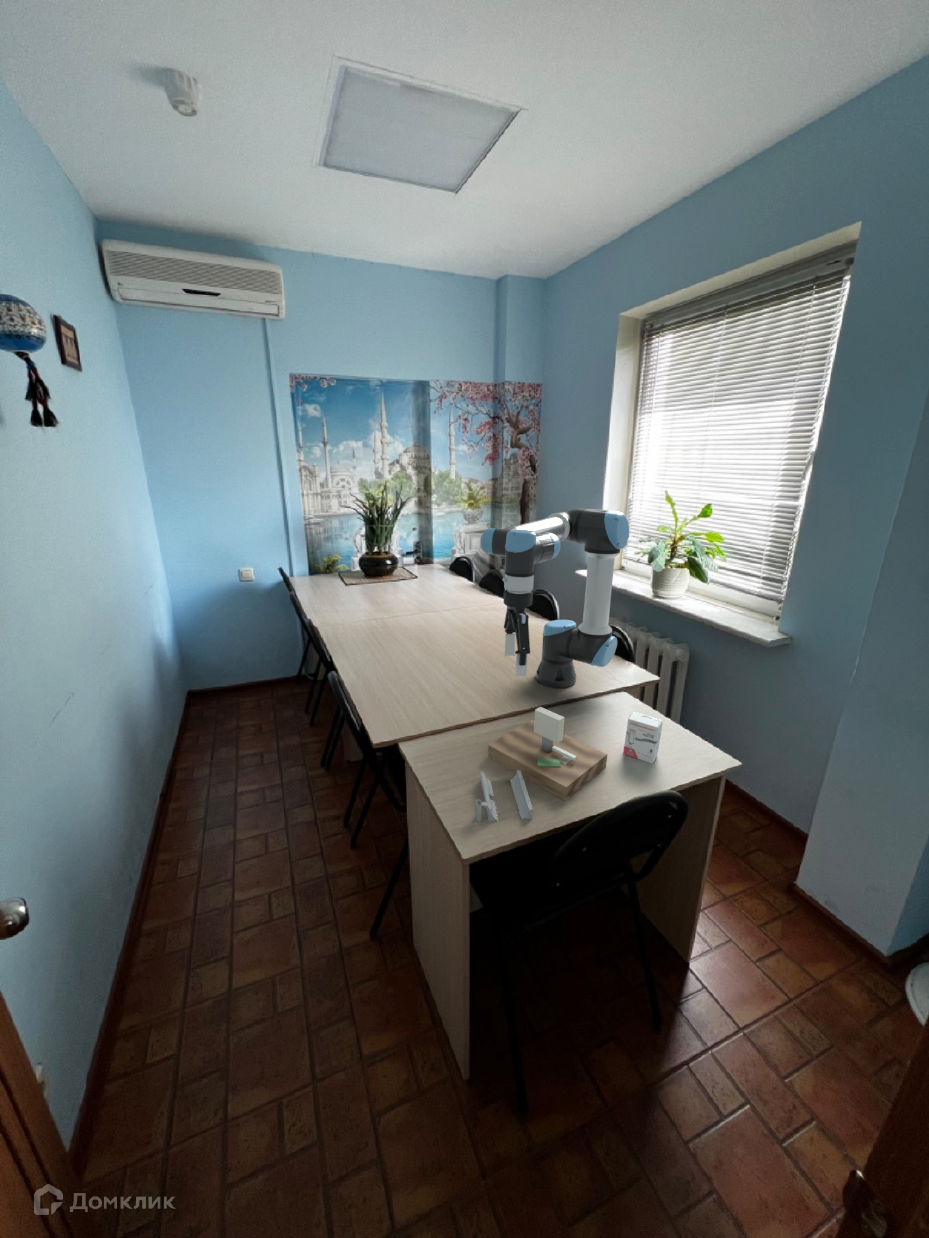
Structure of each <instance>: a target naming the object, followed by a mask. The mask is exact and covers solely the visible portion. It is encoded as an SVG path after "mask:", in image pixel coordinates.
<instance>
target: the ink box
mask: <svg viewBox="0 0 929 1238" xmlns="http://www.w3.org/2000/svg"><path fill="white" fill-rule="evenodd" d="M663 722H664V721H663V720H662V719H660V718H657V717H653V716H650V715H647V714H644V713H641V712H637V711H633V712H631V714H630V715H629V717H628V719H627V725H626V732H625V741H624V746H623V755H626V756H629V757H632V758H635V759H638V760H641V761H643V762H647V763H649V764H654V762H655V761H656V759H657V757H658V753H659V750H660V749H659V748H660V741H661V735H662V729H663Z"/></svg>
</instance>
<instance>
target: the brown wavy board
mask: <svg viewBox="0 0 929 1238" xmlns="http://www.w3.org/2000/svg"><path fill="white" fill-rule="evenodd" d="M541 746H542V736H541V735H539V734H537V733H535V732H534V719H530V720H528V721H526V722H525V723H523V724H521V725H520V726H518V727H516V728H514V729H513V730H511V731H509V732H508V733H506V734H504V735H503V736H501V737H499V738H497V739H496V740H494V741H493V742H491V743H489V744H488V748H487V749H488V750H487V757H488V758H489V759H491V760H493V761H494V762H497V763H498V764H499V765H501V766H504V767H505V768H507V769H508V770H510V771H512V772H514V773H515V774H516V773H517V770H521V773H522V776H523V779H527V780H528V781H530V783H531V782H532V783H533V784H535V785H537V786H539V787H540V788H542V789H544V790H546V791H547V792H549V793H551V794H552V795H554V796H556V797H557V798H559V799H561V798H562V799H561V800H563V799H564V800H563V801H566V800H568V799H569V798H570V797H572V796H573V795H574V794H575V793H577V791H578V790H580V789H581V788H582V787H584V785H586V784H587V783H589V781H591V780H592V779H593V778H594V777H595V776H596V775H598V774H599V773H600V772H602V771H603V770H604V769H605V768H606V767H607V762H608V761H607V760H608V753H607V752H604V751H601V750H600V749H597V748H595V747H594V746H591V745H589V744H586V743H585V742H582V741H580V740H578V739H576V738H573V737H571V736H570V735H567V734H564V733H563V740H562V741H561V742H559V743H556V742H553V746H557V747H559V748H561V749H563V750H565V751H567V752H569V753H571V754H573V755H575V756H577V757H576V759H575V760H572V759H570V758H567V757H565V756H563V755H561V754H559V753H557V752H555V751H553V750H552V751H550V752H546V751H543V750H542V749H541ZM573 793H574V794H573ZM568 797H569V798H568Z"/></svg>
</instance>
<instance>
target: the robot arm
mask: <svg viewBox="0 0 929 1238" xmlns="http://www.w3.org/2000/svg"><path fill="white" fill-rule="evenodd" d="M629 525H630V524H629V521H628V518H627V515H626V514H624V513H623V512H621V511H618V510H617V511H616V510H612V509H611V510H610V509H594V508H585V507H584V508H583V507H582V508H581V507H580V508H571V509H566V510H561V511H558V512H554V513H551V514H549V515H548V516H547V517H546V518H541V519H538V520H534V521H530V522H526V523H522V524H519V525H514V526H510V527H505V528H497V527H494V528H493V527H488V528H486V529H485V530H484V531H483V532H482V534H481V536H480V537H481V538H480V547H481V550H482V551H483V552H484V553H485V554H489V555H492V556H498V557H505V559H504V561H505V562H504V563H505V564H504V567H505V568H504V577H503V578H502V580H501V581H503V583H504V585H503V586H504V589H505V590H504V591H503V604H504V605H505V606H507V607H506V613H505V618H504V624H503V629H504V632H505V639H504V656H505V657H511V656H515V655H516V656H515V677H524V676H525V677H526V676H527V669H528V667H527V666H528V655H530V654H531V647H530V646H531V645H530V644H531V643H530V629H529V618H530V617H529V615H528V614H527V612H526V611H525V609H526V608H529V607H531V606H532V605H533V596H534V594H533V593H534V592H533V589H534V584H535V583H534V581H535V573H534V572H535V565H537V564H541V563H544V562H548V561H551V560H553V559H555V558H556V557H557V556H558V555H559V553H560V552H561V548H562V547H561V542H567V543H569V542H570V543H573V544H574V543H575V544H581V545H584V548H583V549H584V550H583V552H584V553H585V554H586V555H587V565H586V566H587V568H586V578H585V580H586V582H585V593H584V602H583V603H584V604H583V605H584V606H583V616H582V622H581V623H580V624H579V625H578V626H577V622H575V621H574V620H569V619H555V620H551V621H548V622H547V623H545V624H544V626H543V632H542V646H541V647H542V648H541V660H540V662H539V664H538V666H537V670H536V673H535V680H536V681H537V682H538V681H539V682H540V683H539V682H538V683H539V684H541V685H543V686H546V687H550V688H555V687H564V688H569V687H573V685H575V684H576V683H575V682H577V673H576V670H575V665H574V661H577V662H580V663H583V664H587V665H589V666H593V667H597V668H604V667H606V666H607V665H609V664H610V662H611V660H612V659H613V658H614V655H615V653H616V650H617V646H618V639H617V637H615V636H614V635H613V634H612V633H613V628H612V627H611V626H610V625H609V622H610V621H609V619H610V609H611V598H612V588H613V579H614V571H615V569H614V568H615V562H616V561H615V559H616V557H617V556H618V555H620V553H621V549H624V548H626V546H627V544H628V540H629V537H630V526H629ZM516 646H517V647H516ZM515 648H517V649H515Z"/></svg>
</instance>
